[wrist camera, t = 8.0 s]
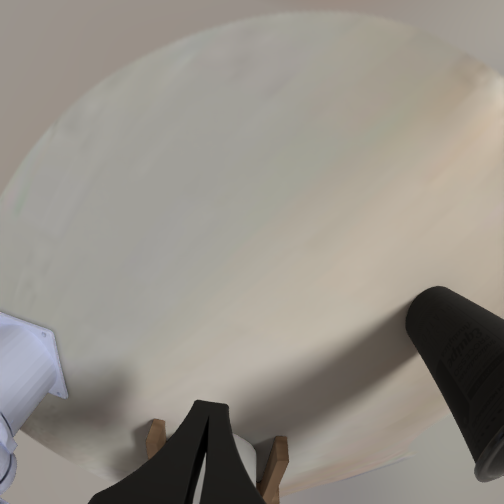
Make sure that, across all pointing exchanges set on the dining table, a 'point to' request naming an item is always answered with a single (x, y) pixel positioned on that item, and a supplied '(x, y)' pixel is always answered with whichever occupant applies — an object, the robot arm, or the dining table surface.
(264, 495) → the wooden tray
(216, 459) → the robot arm
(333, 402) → the dining table surface
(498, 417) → the drinking cup
